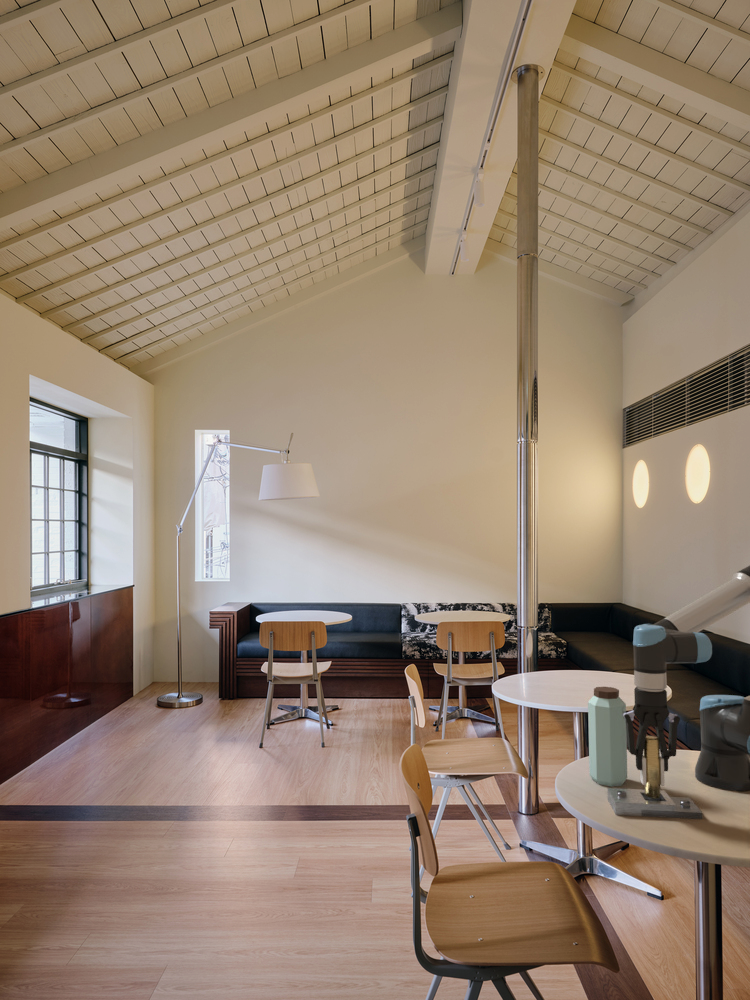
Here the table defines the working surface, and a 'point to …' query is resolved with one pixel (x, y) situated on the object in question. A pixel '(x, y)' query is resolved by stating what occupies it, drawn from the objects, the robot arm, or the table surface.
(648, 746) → the pin
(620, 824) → the table surface
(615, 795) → the chain ends
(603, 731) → the water bottle
